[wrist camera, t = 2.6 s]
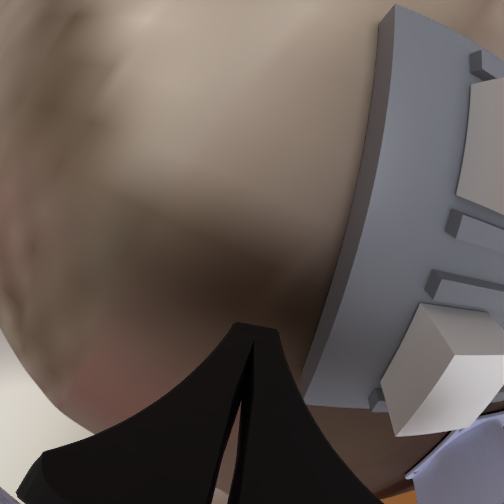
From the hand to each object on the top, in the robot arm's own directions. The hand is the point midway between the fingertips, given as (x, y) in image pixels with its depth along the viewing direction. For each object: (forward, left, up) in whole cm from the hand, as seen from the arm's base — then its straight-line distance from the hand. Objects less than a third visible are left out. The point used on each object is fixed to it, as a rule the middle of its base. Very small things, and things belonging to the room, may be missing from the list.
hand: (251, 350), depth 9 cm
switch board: (+4, -13, -3) cm, 14 cm away
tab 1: (0, -8, -1) cm, 8 cm away
